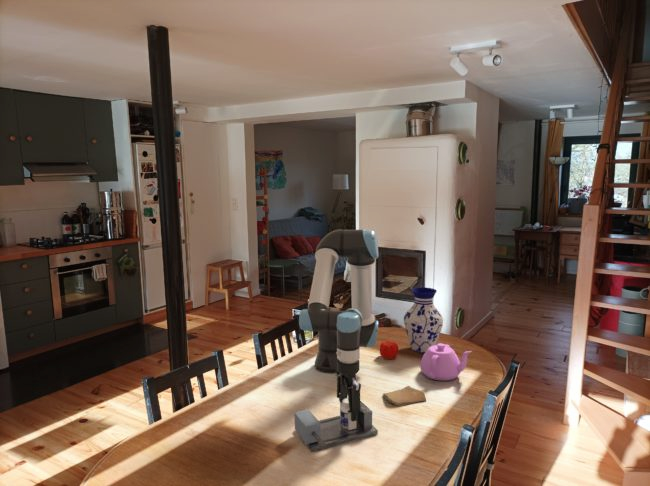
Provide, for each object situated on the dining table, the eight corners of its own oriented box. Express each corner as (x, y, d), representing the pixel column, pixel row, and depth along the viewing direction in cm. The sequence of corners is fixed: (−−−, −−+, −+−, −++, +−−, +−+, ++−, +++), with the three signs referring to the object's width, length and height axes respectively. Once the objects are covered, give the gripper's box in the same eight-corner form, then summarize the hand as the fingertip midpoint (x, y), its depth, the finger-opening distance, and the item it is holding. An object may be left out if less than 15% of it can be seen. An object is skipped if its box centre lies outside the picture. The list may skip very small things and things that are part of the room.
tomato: (385, 352, 229) (385, 337, 228) (401, 356, 224) (401, 341, 223) (375, 358, 221) (375, 343, 220) (392, 363, 216) (392, 347, 215)
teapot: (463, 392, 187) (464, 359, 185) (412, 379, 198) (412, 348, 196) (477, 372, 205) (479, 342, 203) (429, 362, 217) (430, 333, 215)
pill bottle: (339, 421, 162) (339, 397, 161) (354, 420, 163) (354, 396, 162) (341, 429, 157) (341, 404, 156) (356, 428, 158) (357, 403, 156)
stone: (427, 402, 180) (427, 394, 179) (390, 408, 175) (391, 400, 174) (413, 390, 190) (413, 382, 190) (378, 395, 185) (378, 387, 185)
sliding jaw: (294, 429, 157) (294, 412, 156) (308, 425, 159) (308, 409, 158) (315, 457, 141) (315, 438, 141) (330, 453, 144) (330, 434, 143)
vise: (295, 430, 160) (295, 409, 159) (357, 415, 170) (357, 395, 169) (311, 452, 147) (311, 429, 146) (377, 434, 157) (377, 413, 156)
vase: (395, 349, 233) (396, 290, 228) (416, 339, 246) (417, 283, 242) (429, 359, 220) (431, 297, 215) (449, 348, 234) (451, 289, 229)
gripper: (326, 351, 163) (326, 414, 167) (351, 371, 147) (350, 440, 150) (345, 348, 166) (345, 409, 170) (371, 367, 150) (371, 435, 153)
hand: (348, 424), depth 160 cm, fingers closed on pill bottle, 5 cm apart
